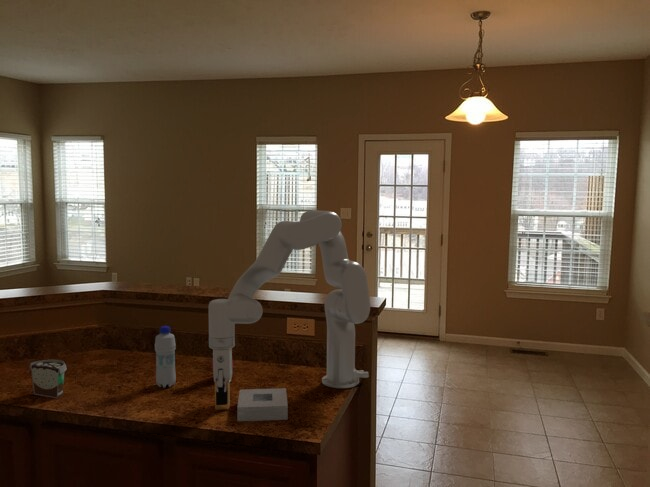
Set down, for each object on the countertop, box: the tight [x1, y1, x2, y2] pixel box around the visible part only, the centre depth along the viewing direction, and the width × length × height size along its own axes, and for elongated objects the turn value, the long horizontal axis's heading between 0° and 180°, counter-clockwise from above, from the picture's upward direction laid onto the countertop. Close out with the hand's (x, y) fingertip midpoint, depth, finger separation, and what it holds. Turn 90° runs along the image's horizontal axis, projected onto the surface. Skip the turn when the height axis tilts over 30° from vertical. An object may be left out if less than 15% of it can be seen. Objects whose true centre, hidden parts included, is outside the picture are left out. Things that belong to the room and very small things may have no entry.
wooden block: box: [214, 379, 231, 411], centre depth 161 cm, size 4×4×9 cm
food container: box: [29, 359, 67, 399], centre depth 172 cm, size 12×6×10 cm, turn 71°
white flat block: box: [236, 387, 289, 422], centre depth 159 cm, size 14×14×4 cm
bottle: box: [154, 325, 177, 389], centre depth 179 cm, size 7×7×20 cm
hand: (222, 400), depth 162 cm, fingers closed on wooden block, 4 cm apart
